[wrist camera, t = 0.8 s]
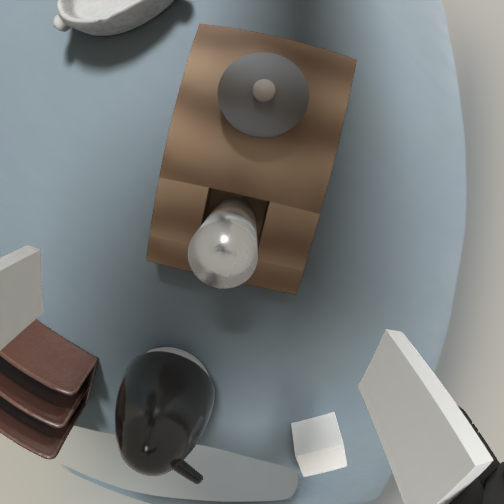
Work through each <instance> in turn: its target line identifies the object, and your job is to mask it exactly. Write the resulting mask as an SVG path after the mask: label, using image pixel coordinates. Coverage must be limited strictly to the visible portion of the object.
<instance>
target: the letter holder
mask: <svg viewBox="0 0 504 504" xmlns="http://www.w3.org/2000/svg"><path fill="white" fill-rule="evenodd" d="M97 363H98V358H96V357H95V356H93V355H91V354H89V353H88V352H86V351H84V350H83V349H81V348H79V347H77V346H76V345H74V344H73V343H71V342H69V341H68V340H66V339H65V338H63V337H62V336H60V335H58V334H57V333H55V332H54V331H52V330H51V329H49V328H48V327H46V326H45V325H44V324H42V323H41V322H39V321H38V320H36V319H35V320H34V321H33V322H32V323H31V324H30V325H29V326H27V327H26V328H25V329H24V330H23V331H22V332H21V333H19V334H18V335H17V336H16V337H15V338H14V339H13V340H12V341H10V342H9V343H8V344H7V345H6V346H5V347H4V348H3V349H2V350H1V351H0V433H2V434H3V435H5V436H6V437H8V438H9V439H11V440H12V441H14V442H15V443H17V444H18V445H20V446H22V447H24V448H25V449H27V450H29V451H31V452H33V453H35V454H37V455H39V456H41V457H43V458H45V459H53V458H55V457H56V456H57V455H58V453H59V451H60V449H61V447H62V445H63V443H64V441H65V440H66V438H67V436H68V434H69V432H70V431H71V429H72V427H73V426H74V424H75V422H76V421H77V419H78V417H79V416H80V414H81V412H82V410H83V409H84V407H85V406H86V404H87V402H88V398H89V394H90V390H91V387H92V382H93V379H94V375H95V371H96V367H97Z"/></svg>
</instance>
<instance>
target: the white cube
mask: <svg viewBox="0 0 504 504" xmlns="http://www.w3.org/2000/svg"><path fill="white" fill-rule="evenodd" d="M291 427H292V435H293V443H294V451H295V457H296V459H297V462H298V464H299V467H300V469H301V472H302V474H303V476H304V477H306V476H311V475H315V474H319V473H324V472H328V471H331V470H335V469H339V468H343V467H346V466H347V462H346V456H345V450H344V445H343V441H342V437H341V434H340V430H339V427H338V423H337V420H336V416H335V413H334V412H332V413H329V414H325V415H321V416H318V417H314V418H310V419H306V420H302V421H298V422H293V423H291Z"/></svg>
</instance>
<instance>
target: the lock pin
mask: <svg viewBox="0 0 504 504" xmlns="http://www.w3.org/2000/svg"><path fill="white" fill-rule="evenodd" d="M188 261H189V264H190V267H191V269H192V271H193V273H194V274H195V275H196V277H197V278H198V279H199V280H201V281H202V282H203V283H205V284H207V285H209V286H211V287H215V288H220V289H228V288H233V287H236V286H239V285H241V284H242V283H244V282H245V281H246V280H248V279H249V278H250V276H251V275H252V274H253V272H254V270H255V268H256V265H257V261H258V247H257V228H256V214H255V211H254V209H253V207H252V206H251V205H250V204H249V203H248V202H247V201H245V200H244V199H241V198H237V197H232V198H227V199H225V200H223V201H221V202H220V203H219V204H218V205H217V206H216V208H215V209H214V210H213V211H212V213H211V214H210V215H209V216H208V218H207V219H206V220H205V222H204V223H203V224H202V225H201V227H200V228H199V229H198V231H197V232H196V233H195V234H194V236H193V237H192V239H191V241H190V244H189V247H188Z"/></svg>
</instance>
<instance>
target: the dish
mask: <svg viewBox="0 0 504 504" xmlns="http://www.w3.org/2000/svg"><path fill="white" fill-rule="evenodd" d="M173 1H174V0H58V1H57V10H58V15H57V16H56V17H55V18H54V27H55V28H57V29H58V30H60V31H64V32H65V31H67V30H69V29H70V28H74V29H77V30H79V31H81V32H84V33H87V34H90V35H97V36H110V35H115V34H120V33H123V32H126V31H129V30H132V29H134V28H136V27H139V26H141V25H143V24H144V23H146V22H148V21H149V20H151V19H152V18H154V17H155V16H157V15H158V14H159V13H161V12H162V11H163V10H165V9H166V8H167V7H168V6H169V5H170V4H171V3H172V2H173Z"/></svg>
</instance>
